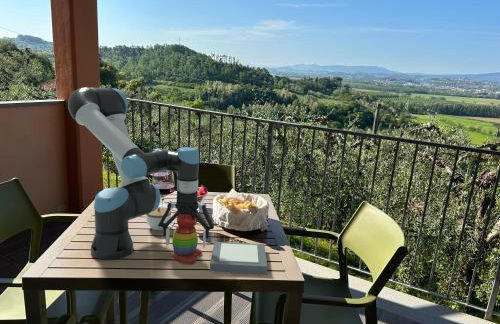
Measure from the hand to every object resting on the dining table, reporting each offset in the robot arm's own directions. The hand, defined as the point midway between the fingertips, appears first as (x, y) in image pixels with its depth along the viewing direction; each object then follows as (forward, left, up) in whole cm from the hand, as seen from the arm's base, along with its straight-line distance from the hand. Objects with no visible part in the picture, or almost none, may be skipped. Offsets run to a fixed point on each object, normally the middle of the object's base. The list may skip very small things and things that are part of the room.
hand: (186, 245), depth 138 cm
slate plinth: (+20, -1, -5) cm, 21 cm away
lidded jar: (-16, +26, -5) cm, 31 cm away
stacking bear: (0, 0, -5) cm, 5 cm away
